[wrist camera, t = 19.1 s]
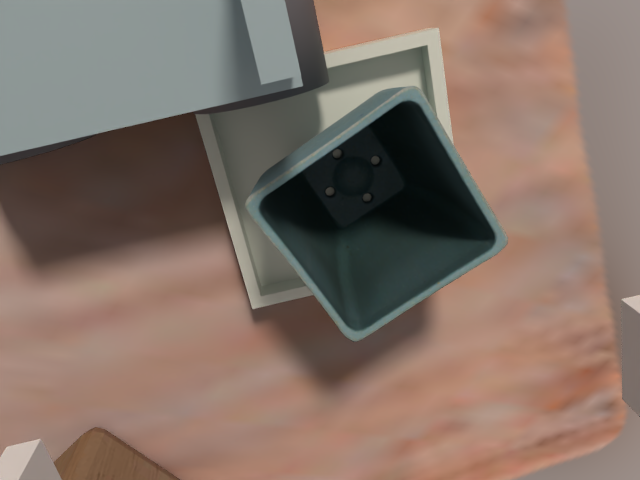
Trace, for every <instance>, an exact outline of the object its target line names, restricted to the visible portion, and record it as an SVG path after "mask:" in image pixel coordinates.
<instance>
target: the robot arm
mask: <svg viewBox="0 0 640 480" xmlns="http://www.w3.org/2000/svg"><path fill="white" fill-rule="evenodd" d="M621 327H622V328H621V329H622V330H621V331H622V399H623V400H624V401H625V402H626V403H627V404H628V405H629V406H630V407H631V408H632V410H634V411H635V412H636V414H637V415H638V416H639V417H640V295H637V296H633V297H629V298H625V299H621ZM0 480H62V479H61V477H60V475H59V473H58V471H57V469H56V467H55V465H54V463H53V461H52V459H51V457H50V455H49V453H48V451H47V449H46V447H45V445H44V443H43V442H42V440H41V439H37V440H33V441H29V442H25V443H21V444H17V445H12V446H8V447H6V449H5V450H4V452H3V454H2V455H1V457H0Z"/></svg>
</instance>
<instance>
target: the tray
mask: <svg viewBox="0 0 640 480" xmlns="http://www.w3.org/2000/svg"><path fill="white" fill-rule="evenodd" d="M324 56H325V61H326V66H327V71H328V76H329V83H327V84H325V85H324V86H321V87H319V88H316V89H314V90H311V91H308V92H305V93H302V94H299V95H295V96H292V97H288V98H284V99H281V100H277V101H273V102H269V103H265V104H261V105H256V106H252V107H247V108H242V109H237V110H232V111H226V112H219V113H212V114H195V115H196V119H197V122H198V126H199V129H200V132H201V136H202V139H203V143H204V146H205V149H206V153H207V156H208V160H209V163H210V166H211V170H212V173H213V177H214V180H215V183H216V187H217V190H218V194H219V197H220V200H221V204H222V207H223V211H224V214H225V217H226V221H227V224H228V228H229V231H230V234H231V238H232V241H233V245H234V248H235V251H236V255H237V258H238V262H239V265H240V268H241V272H242V275H243V279H244V282H245V285H246V289H247V292H248V296H249V299H250V302H251V306H252V309H255V308H260V307H264V306H268V305H273V304H277V303H281V302H286V301H290V300H294V299H299V298H303V297H307V296H312V295H313V294H312V292H311V291H310V290H309V289H308V287H307V286H306V285H305V284H304V282H303V281H302V280H301V278H300V277H299V276H298V275H297V273H296V272H295V271H294V269H293V268H292V267H291V265H290V264H289V263H288V262H287V261H286V259H285V258H284V257H283V255H282V254H281V253H280V252H279V251H278V249H277V248H276V247H275V246H274V245H273V244H272V242H271V241H270V240H269V238H268V237H267V236H266V235H265V234H264V233H263V231H262V230H261V229H260V227H259V226H258V225H257V224H256V223H255V222H254V220H253V219H252V217H251V216H250V215H249V213H248V212H247V210H246V207H245V203H246V200H247V198H248V197H249V195H250V193H251V191H252V190H253V188H254V186H255V185H256V183H257V182H258V180H259V178H260V177H261V176H262V174H263V173H264V172H265V171H266V170H268V169H269V168H270V167H272V166H273V165H275V164H276V163H278V162H279V161H280V160H282V159H283V158H285V157H286V156H288V155H289V154H291V153H292V152H293V151H295V150H296V149H298V148H299V147H301V146H302V145H303V144H305V143H306V142H308V141H309V140H311V139H312V138H313V137H315V136H316V135H318V134H319V133H321V132H322V131H324V130H325V129H326V128H328V127H329V126H331V125H332V124H334V123H335V122H336V121H338V120H339V119H341V118H342V117H343V116H345V115H346V114H348V113H349V112H351V111H352V110H353V109H355V108H356V107H358V106H359V105H360V104H362V103H363V102H365V101H366V100H367V99H369V98H370V97H372V96H373V95H374V94H376V93H378V92H380V91H382V90H385V89H390V88H397V87H407V86H416V87H418V88H419V89H421V90H422V92H423V93H424V95H425V96H426V98H427V99H428V101H429V103H430V105H431V106H432V108H433V110H434V112H435V113H436V115H437V117H438V119H439V121H440V122H441V124H442V126H443V128H444V129H445V131H446V133H447V135H448V136H449V138H450V140H451V141H452V144H453V137H452V129H451V121H450V113H449V105H448V97H447V89H446V81H445V74H444V66H443V58H442V50H441V42H440V34H439V28H426V29H422V30H418V31H413V32H409V33H405V34H400V35H396V36H392V37H387V38H383V39H379V40H374V41H370V42H366V43H361V44H357V45H353V46H348V47H344V48H340V49H335V50H331V51H327V52H324ZM341 155H342V151H341V150H339V149H335V150H334V151H333V156H334V157H335V158H340V157H341ZM379 160H380V159H379V157H377V156H373V157H372V159H371V162H372V164H374V165H376V164H378V163H379ZM325 192H326V194H327V195H329V196H331V195H333V194H334V189H333V188H332V187H329V188H327V189H326V191H325ZM370 199H371V195H370V194H368V193H367V194H364V196H363V200H364V201H370Z"/></svg>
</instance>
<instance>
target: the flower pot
mask: <svg viewBox="0 0 640 480" xmlns="http://www.w3.org/2000/svg"><path fill="white" fill-rule="evenodd" d="M335 149H339V150H341V151H342V155H341V157H340V158H335V157H334V156H333V151H334V150H335ZM373 156H377V157H379V159H380V160H379V163H378V164H376V165H374V164H372V162H371V159H372V157H373ZM329 187H332V188H333V189H334V194H333V195H331V196H329V195H327V194H326V192H325V191H326V189H327V188H329ZM367 193H368V194H370V195H371V199H370V201H364V200H363V196H364V194H367ZM245 207H246V210H247V212H248V213H249V215H250V216H251V217H252V219H253V220H254V222H255V223H256V224H257V225H258V226H259V227H260V229H261V230H262V231H263V233H264V234H265V235H266V236H267V237H268V238H269V240H270V241H271V242H272V244H273V245H274V246H275V247H276V248H277V249H278V251H279V252H280V253H281V254H282V255H283V257H284V258H285V259H286V261H287V262H288V263H289V264H290V265H291V267H292V268H293V269H294V271H295V272H296V273H297V275H298V276H299V277H300V278H301V280H302V281H303V282H304V284H305V285H306V286H307V287H308V289H309V290H310V291H311V292H312V294H313V295H314V296H315V298H316V299H317V300H318V301H319V303H320V304H321V305H322V307H323V308H324V309H325V311H326V312H327V313H328V315H329V316H330V317H331V319H332V320H333V321H334V323H335V324H336V325H337V327H338V328H339V330H340V331H341V333H342V334H343V335H344V336H345V337H346V338H348V339H349V340H351V341H353V342H357V341H360V340H362V339H364V338H365V337H367V336H369V335H370V334H372V333H374V332H375V331H377V330H378V329H379V328H381V327H383V326H384V325H386V324H387V323H389V322H390V321H392V320H393V319H395V318H397V317H398V316H399V315H401V314H402V313H404V312H405V311H407V310H409V309H410V308H412V307H413V306H414V305H416V304H418V303H419V302H421V301H422V300H424V299H426V298H427V297H429V296H430V295H432V294H433V293H435V292H436V291H438V290H439V289H441V288H443V287H444V286H446V285H447V284H449V283H451V282H452V281H454V280H455V279H457V278H459V277H461V276H462V275H464V274H465V273H467V272H468V271H470V270H471V269H473V268H475V267H477V266H478V265H480V264H481V263H483V262H485V261H487V260H489V259H490V258H492V257H493V256H495V255H497V254H498V253H499V252H500V251H501V250H502V249H503V248H504V247H505V246H506V245H507V243H508V238H507V235H506V233H505V231H504V229H503V227H502V226H501V224H500V223H499V221H498V219H497V218H496V216H495V214H494V213H493V211H492V210H491V208H490V206H489V204H488V203H487V201H486V199H485V198H484V196H483V194H482V193H481V191H480V190H479V188H478V186H477V184H476V183H475V181H474V179H473V178H472V176H471V174H470V172H469V171H468V169H467V167H466V166H465V164H464V162H463V160H462V159H461V157H460V155H459V154H458V152H457V150H456V149H455V147H454V145H453V144H452V141H451V140H450V138H449V136H448V135H447V133H446V131H445V129H444V128H443V126H442V124H441V122H440V121H439V119H438V117H437V115H436V113H435V112H434V110H433V108H432V106H431V105H430V103H429V101H428V99H427V98H426V96H425V95H424V93H423V92H422V90H421V89H419V88H418V87H416V86H407V87H397V88H390V89H385V90H382V91H380V92H378V93H376V94H374V95H373V96H372V97H370V98H369V99H367V100H366V101H365V102H363V103H362V104H360V105H359V106H358V107H356V108H355V109H353V110H352V111H351V112H349V113H348V114H346V115H345V116H343V117H342V118H341V119H339V120H338V121H336V122H335V123H334V124H332V125H331V126H329V127H328V128H326V129H325V130H324V131H322V132H321V133H319V134H318V135H316V136H315V137H313V138H312V139H311V140H309V141H308V142H306V143H305V144H303V145H302V146H301V147H299V148H298V149H296V150H295V151H293V152H292V153H291V154H289V155H288V156H286V157H285V158H283V159H282V160H280V161H279V162H278V163H276V164H275V165H273V166H272V167H270V168H269V169H268V170H266V171H265V172H264V173H263V174H262V176H261V177H260V178H259V180H258V182H257V183H256V185H255V186H254V188H253V190H252V191H251V193H250V195H249V197H248V198H247V200H246V203H245Z"/></svg>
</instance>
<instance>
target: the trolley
mask: <svg viewBox="0 0 640 480" xmlns="http://www.w3.org/2000/svg"><path fill="white" fill-rule="evenodd" d="M327 83H329V76H328V71H327V66H326V61H325V56H324V51H323V46H322V41H321V36H320V31H319V26H318V21H317V16H316V11H315V6H314V1H313V0H0V164H5V163H9V162H13V161H17V160H20V159H24V158H28V157H32V156H35V155H39V154H42V153H46V152H49V151H52V150H56V149H59V148H62V147H65V146H68V145H71V144H74V143H77V142H80V141H82V140H85V139H87V138H90V137H92V136H94V135H96V134H98V133H102V132H106V131H111V130H115V129H119V128H124V127H128V126H132V125H137V124H141V123H145V122H150V121H154V120H158V119H163V118H167V117H171V116H176V115H180V114H184V113H189V112H193V113H194V114H212V113H219V112H226V111H232V110H237V109H242V108H247V107H252V106H256V105H261V104H265V103H269V102H273V101H277V100H281V99H284V98H288V97H292V96H295V95H299V94H302V93H305V92H308V91H311V90H314V89H316V88H319V87H321V86H324V85H325V84H327Z"/></svg>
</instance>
